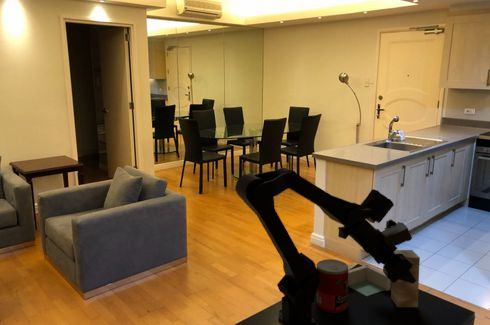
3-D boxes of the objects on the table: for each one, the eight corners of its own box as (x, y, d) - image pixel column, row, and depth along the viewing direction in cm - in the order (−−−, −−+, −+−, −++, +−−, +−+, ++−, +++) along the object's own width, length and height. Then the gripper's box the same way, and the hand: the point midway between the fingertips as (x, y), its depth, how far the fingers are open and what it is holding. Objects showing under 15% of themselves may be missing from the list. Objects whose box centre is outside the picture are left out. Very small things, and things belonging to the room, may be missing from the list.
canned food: (340, 316, 98) (340, 274, 96) (311, 307, 103) (310, 267, 101) (353, 303, 104) (353, 263, 102) (324, 295, 109) (324, 256, 107)
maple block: (397, 307, 100) (398, 257, 98) (391, 297, 105) (392, 250, 103) (417, 307, 100) (419, 257, 98) (410, 297, 105) (412, 249, 103)
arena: (355, 302, 104) (355, 287, 104) (333, 288, 112) (333, 275, 111) (390, 289, 110) (390, 275, 110) (366, 277, 118) (366, 264, 117)
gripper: (404, 226, 90) (452, 271, 91) (379, 203, 108) (419, 242, 110) (368, 260, 91) (415, 304, 93) (349, 232, 110) (389, 269, 111)
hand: (410, 277), depth 102 cm, fingers closed on maple block, 5 cm apart
